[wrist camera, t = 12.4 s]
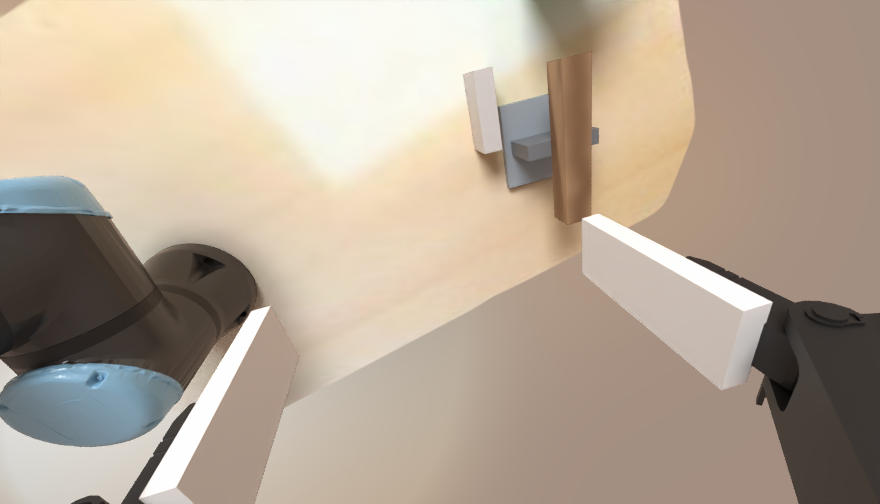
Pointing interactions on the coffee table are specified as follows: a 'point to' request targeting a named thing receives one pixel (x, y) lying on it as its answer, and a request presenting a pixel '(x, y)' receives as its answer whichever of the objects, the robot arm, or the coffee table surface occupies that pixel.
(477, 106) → the post
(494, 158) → the coffee table surface
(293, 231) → the coffee table surface
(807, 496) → the robot arm
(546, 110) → the fulcrum
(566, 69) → the plank
